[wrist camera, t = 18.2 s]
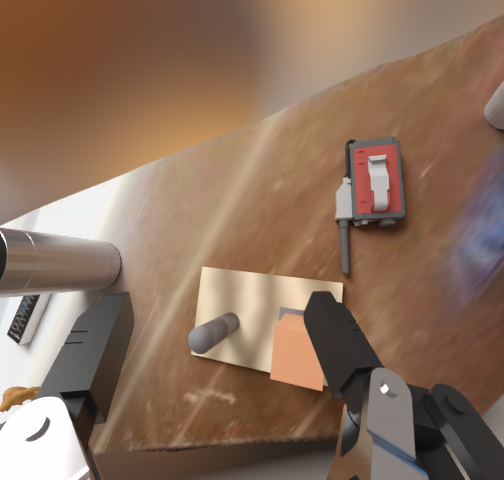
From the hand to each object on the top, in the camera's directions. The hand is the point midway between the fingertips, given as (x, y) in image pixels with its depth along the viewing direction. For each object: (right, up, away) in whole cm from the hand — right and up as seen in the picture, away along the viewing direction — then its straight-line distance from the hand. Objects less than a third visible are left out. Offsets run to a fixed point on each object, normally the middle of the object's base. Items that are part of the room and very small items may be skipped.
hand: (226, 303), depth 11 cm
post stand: (+3, -9, +26) cm, 28 cm away
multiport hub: (-44, -11, +39) cm, 60 cm away
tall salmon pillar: (+8, -11, +23) cm, 27 cm away
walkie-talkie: (+18, +8, +24) cm, 31 cm away
